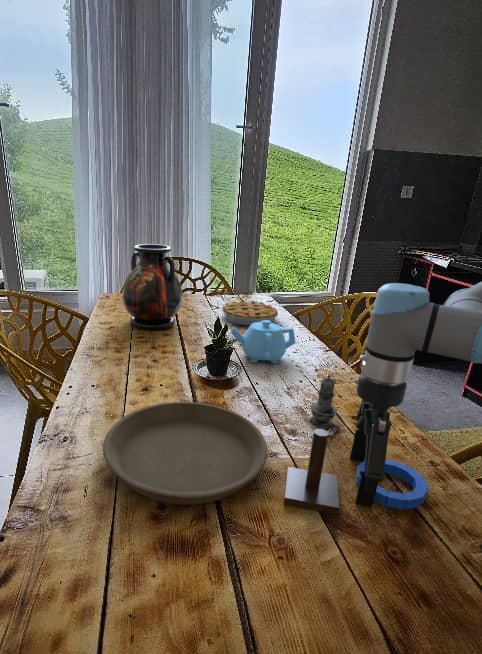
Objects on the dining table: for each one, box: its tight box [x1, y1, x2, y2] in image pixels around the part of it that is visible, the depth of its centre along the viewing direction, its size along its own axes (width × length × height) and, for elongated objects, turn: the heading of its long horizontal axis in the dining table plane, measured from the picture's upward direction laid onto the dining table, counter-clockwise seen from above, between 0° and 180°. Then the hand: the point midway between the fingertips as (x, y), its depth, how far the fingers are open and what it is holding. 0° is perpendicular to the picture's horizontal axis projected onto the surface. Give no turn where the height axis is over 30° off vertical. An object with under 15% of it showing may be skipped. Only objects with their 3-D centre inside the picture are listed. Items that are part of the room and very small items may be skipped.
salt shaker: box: [309, 374, 338, 430], centre depth 99 cm, size 6×6×12 cm
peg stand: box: [283, 428, 341, 516], centre depth 76 cm, size 9×9×12 cm
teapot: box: [229, 320, 296, 364], centre depth 135 cm, size 20×17×12 cm
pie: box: [221, 300, 279, 327], centre depth 173 cm, size 22×22×5 cm
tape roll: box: [354, 458, 429, 511], centre depth 81 cm, size 12×12×2 cm
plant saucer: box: [102, 401, 268, 506], centre depth 85 cm, size 31×31×5 cm
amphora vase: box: [121, 243, 183, 331], centre depth 157 cm, size 22×22×28 cm
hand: (359, 480), depth 82 cm, fingers open, 13 cm apart
